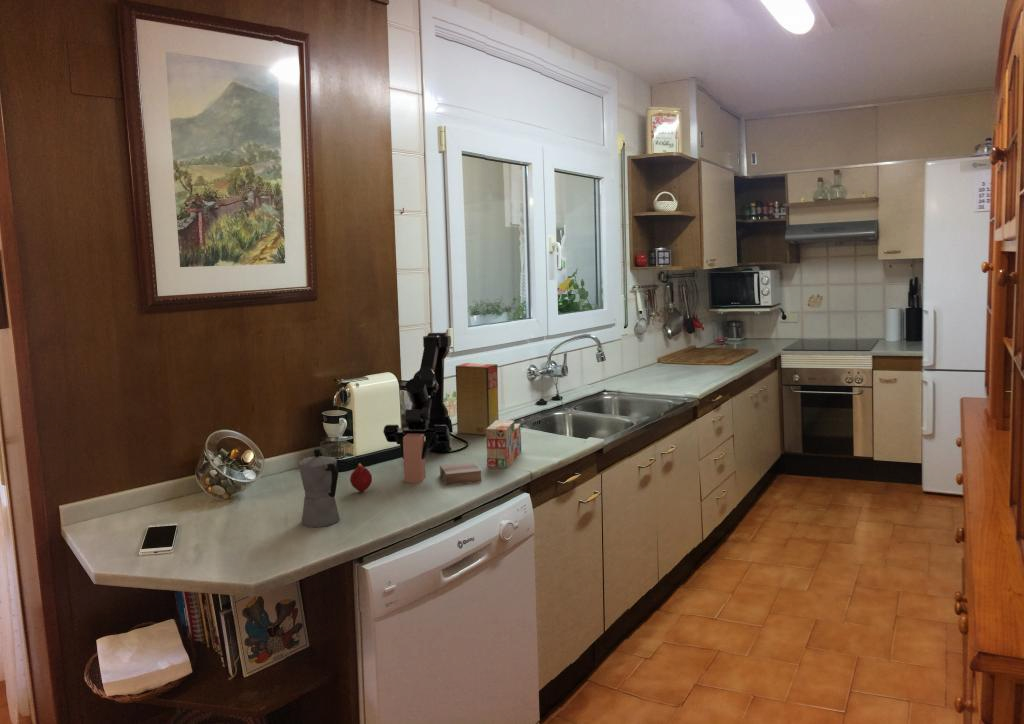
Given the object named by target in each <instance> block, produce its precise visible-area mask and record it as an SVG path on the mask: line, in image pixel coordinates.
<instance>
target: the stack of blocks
mask: <svg viewBox="0 0 1024 724" xmlns="http://www.w3.org/2000/svg"><path fill="white" fill-rule="evenodd" d="M521 431H522V430H521V423H515V420H511V419H509V420H503V419H502V420H500V419H499V420H496V421H495V422H494V423H493V424H492V425H490V426H489V427H488V428H487V429H486V435H487V436H486V463H487V464H486V466H487V468H491V467H507V466H508V465H509V466H510V465H511V464H512V463H513V462H514V461H513V460H515V459H516V458H517V456H519V454H520V453H521V452H522V432H521ZM512 461H513V462H512ZM511 462H512V463H511ZM510 463H511V464H510ZM509 466H508V467H509ZM508 467H507V468H508Z"/></svg>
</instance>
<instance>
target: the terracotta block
mask: <svg viewBox="0 0 1024 724" xmlns="http://www.w3.org/2000/svg"><path fill="white" fill-rule="evenodd" d="M424 444H425V437H424V434H406V435H405V436H404V437H403V453H404V459H403V474H404V475H403V476H404V477H403V478H404V483H423V481H424V480H425V479H426V475H427V474H426V457H425V458H424V459H422V452H423V448H424Z"/></svg>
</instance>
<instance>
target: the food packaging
mask: <svg viewBox="0 0 1024 724" xmlns="http://www.w3.org/2000/svg"><path fill="white" fill-rule="evenodd" d="M498 367H499V366H498V364H497V363H474V362H473V363H471V362H465V363H461V364H458V365H455V385H456V386H455V387H456V388H455V390H456V423H457V424H456V427H457V429H456V430H457V431H456V432H457V434H462V435H473V436H485V437H487V435H486V429H487V428H488V427H489V426H490V425H492V424H493V423H494V422H495V421H496V420H500V419H499V377H498V375H499V374H498V369H499V368H498Z"/></svg>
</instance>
